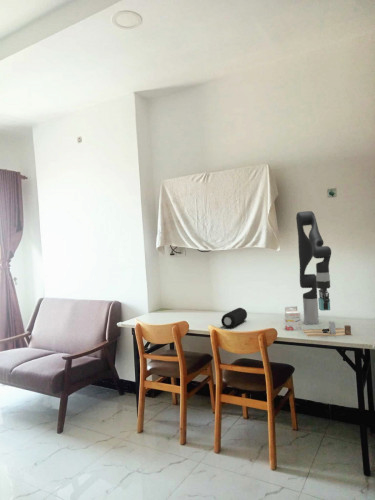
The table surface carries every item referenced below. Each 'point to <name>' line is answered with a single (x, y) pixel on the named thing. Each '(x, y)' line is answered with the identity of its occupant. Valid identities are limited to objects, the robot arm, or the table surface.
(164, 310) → the table surface
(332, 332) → the grey post
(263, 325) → the table surface
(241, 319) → the portable speaker
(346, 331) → the walnut post
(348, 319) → the table surface
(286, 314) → the ink cartridge box
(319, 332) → the oak board
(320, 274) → the robot arm
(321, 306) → the aqua square block
